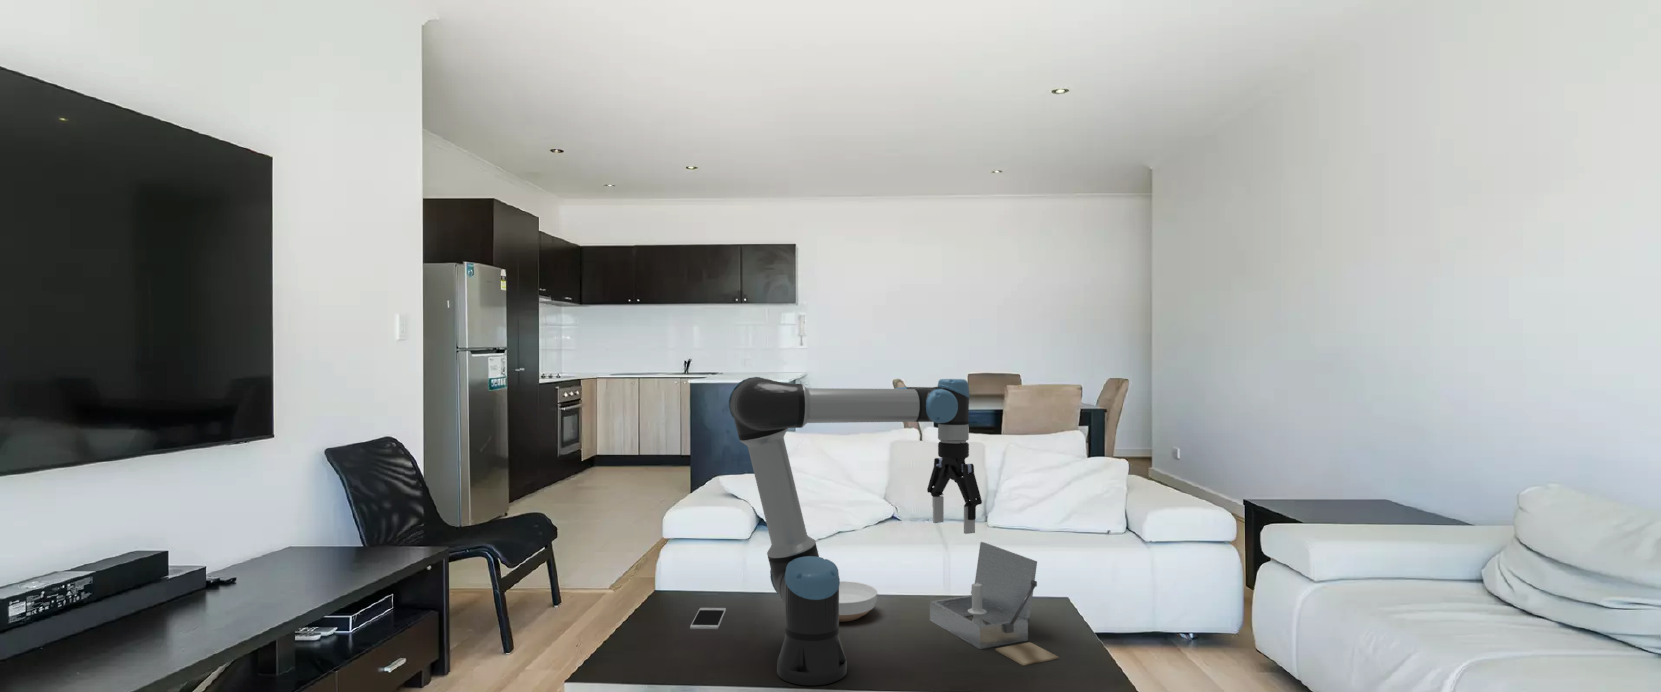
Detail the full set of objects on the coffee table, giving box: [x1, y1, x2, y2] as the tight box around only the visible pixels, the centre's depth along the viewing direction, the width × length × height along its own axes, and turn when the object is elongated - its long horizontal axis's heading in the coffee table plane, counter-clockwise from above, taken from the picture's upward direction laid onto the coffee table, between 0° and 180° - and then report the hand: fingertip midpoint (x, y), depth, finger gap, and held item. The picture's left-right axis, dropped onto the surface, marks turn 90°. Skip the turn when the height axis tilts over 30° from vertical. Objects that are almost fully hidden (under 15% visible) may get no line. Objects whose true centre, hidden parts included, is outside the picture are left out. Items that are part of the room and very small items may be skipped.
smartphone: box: [689, 607, 727, 630], centre depth 203 cm, size 7×16×1 cm, turn 0°
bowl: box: [839, 580, 878, 623], centre depth 206 cm, size 20×20×6 cm
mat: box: [995, 641, 1059, 666], centre depth 178 cm, size 10×10×1 cm
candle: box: [968, 582, 987, 626], centre depth 195 cm, size 5×5×12 cm
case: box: [929, 541, 1038, 650], centre depth 195 cm, size 17×23×19 cm
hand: (953, 527), depth 191 cm, fingers open, 13 cm apart
